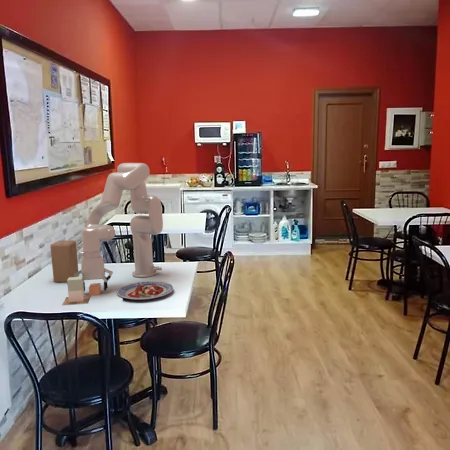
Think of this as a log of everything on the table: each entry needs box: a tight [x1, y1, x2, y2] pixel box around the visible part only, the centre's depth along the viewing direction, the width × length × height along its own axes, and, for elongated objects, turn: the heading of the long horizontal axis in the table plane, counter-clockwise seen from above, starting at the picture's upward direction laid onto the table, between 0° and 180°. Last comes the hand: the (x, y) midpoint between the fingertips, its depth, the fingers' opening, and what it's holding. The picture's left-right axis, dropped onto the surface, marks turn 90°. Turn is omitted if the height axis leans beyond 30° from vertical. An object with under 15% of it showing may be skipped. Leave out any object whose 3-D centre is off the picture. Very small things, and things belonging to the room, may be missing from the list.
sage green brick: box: [66, 276, 84, 292], centre depth 211 cm, size 6×4×5 cm
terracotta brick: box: [88, 282, 102, 296], centre depth 222 cm, size 6×4×5 cm
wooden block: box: [50, 240, 80, 283], centre depth 247 cm, size 10×10×20 cm
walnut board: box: [62, 295, 92, 306], centre depth 212 cm, size 11×11×1 cm
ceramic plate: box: [116, 280, 174, 301], centre depth 222 cm, size 26×26×3 cm
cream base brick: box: [67, 288, 85, 302], centre depth 212 cm, size 6×4×5 cm
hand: (94, 290), depth 222 cm, fingers open, 9 cm apart
